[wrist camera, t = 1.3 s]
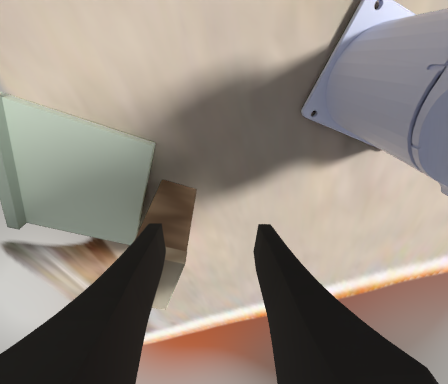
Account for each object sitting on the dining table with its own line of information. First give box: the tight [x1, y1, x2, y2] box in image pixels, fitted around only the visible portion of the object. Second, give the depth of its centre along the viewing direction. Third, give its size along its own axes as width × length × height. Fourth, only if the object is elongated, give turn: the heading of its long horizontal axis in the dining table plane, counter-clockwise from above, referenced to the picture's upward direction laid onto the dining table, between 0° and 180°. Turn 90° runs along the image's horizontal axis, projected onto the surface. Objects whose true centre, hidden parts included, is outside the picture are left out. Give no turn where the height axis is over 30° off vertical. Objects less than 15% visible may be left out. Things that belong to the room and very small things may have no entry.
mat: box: [0, 92, 156, 245], centre depth 19 cm, size 12×13×2 cm
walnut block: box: [133, 179, 197, 310], centre depth 18 cm, size 4×6×9 cm, turn 159°
